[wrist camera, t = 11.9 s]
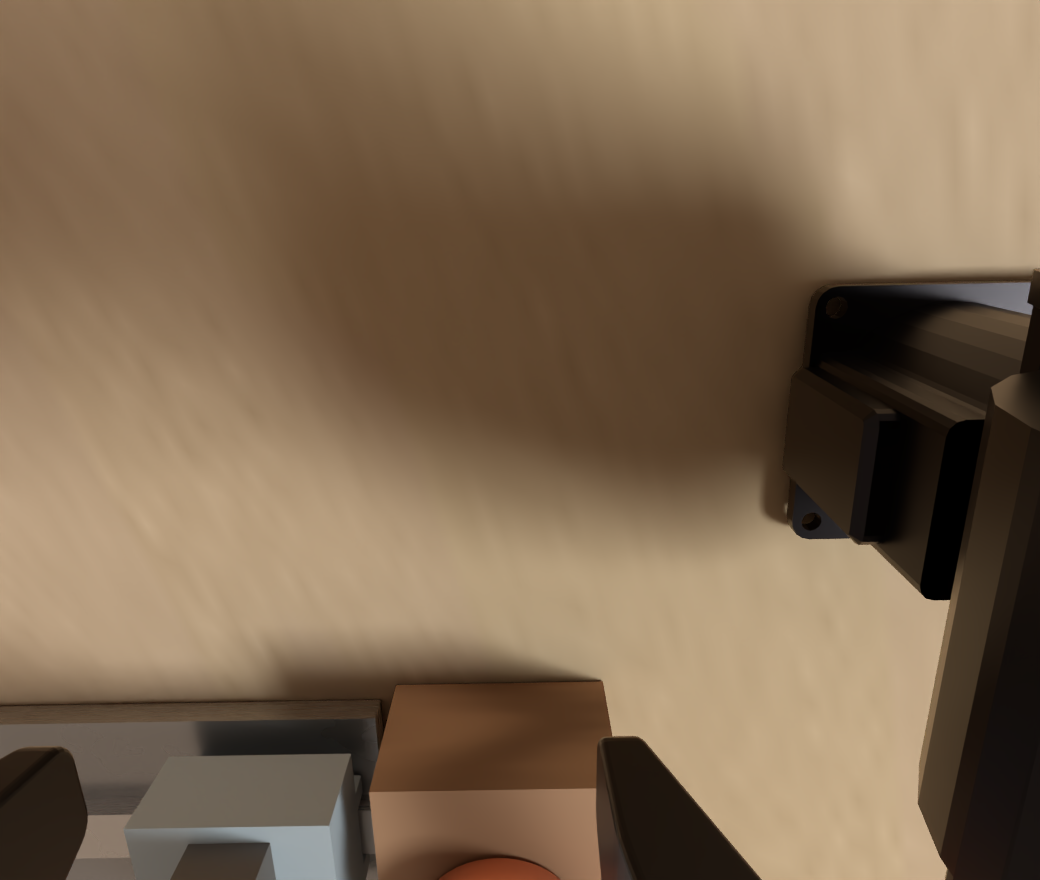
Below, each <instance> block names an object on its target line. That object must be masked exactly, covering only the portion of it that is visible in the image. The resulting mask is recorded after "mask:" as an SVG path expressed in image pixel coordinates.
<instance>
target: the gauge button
mask: <svg viewBox="0 0 1040 880" xmlns="http://www.w3.org/2000/svg"><path fill="white" fill-rule="evenodd" d="M439 880H560V879H559V878H558V877H557V876H555V875H554V874H552V873H551V872H549V871H548V870H546V869H544V868H542V867H540V866H538V865H535V864H532V863H529V862H525V861H521V860H516V859H509V858H491V859H483V860H477V861H473V862H469V863H466V864H464V865H461V866H459V867H456V868H455V869H453V870H451V871H449V872H448V873H446V874H445V875H443V876H442V877H441V878H440V879H439Z"/></svg>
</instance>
